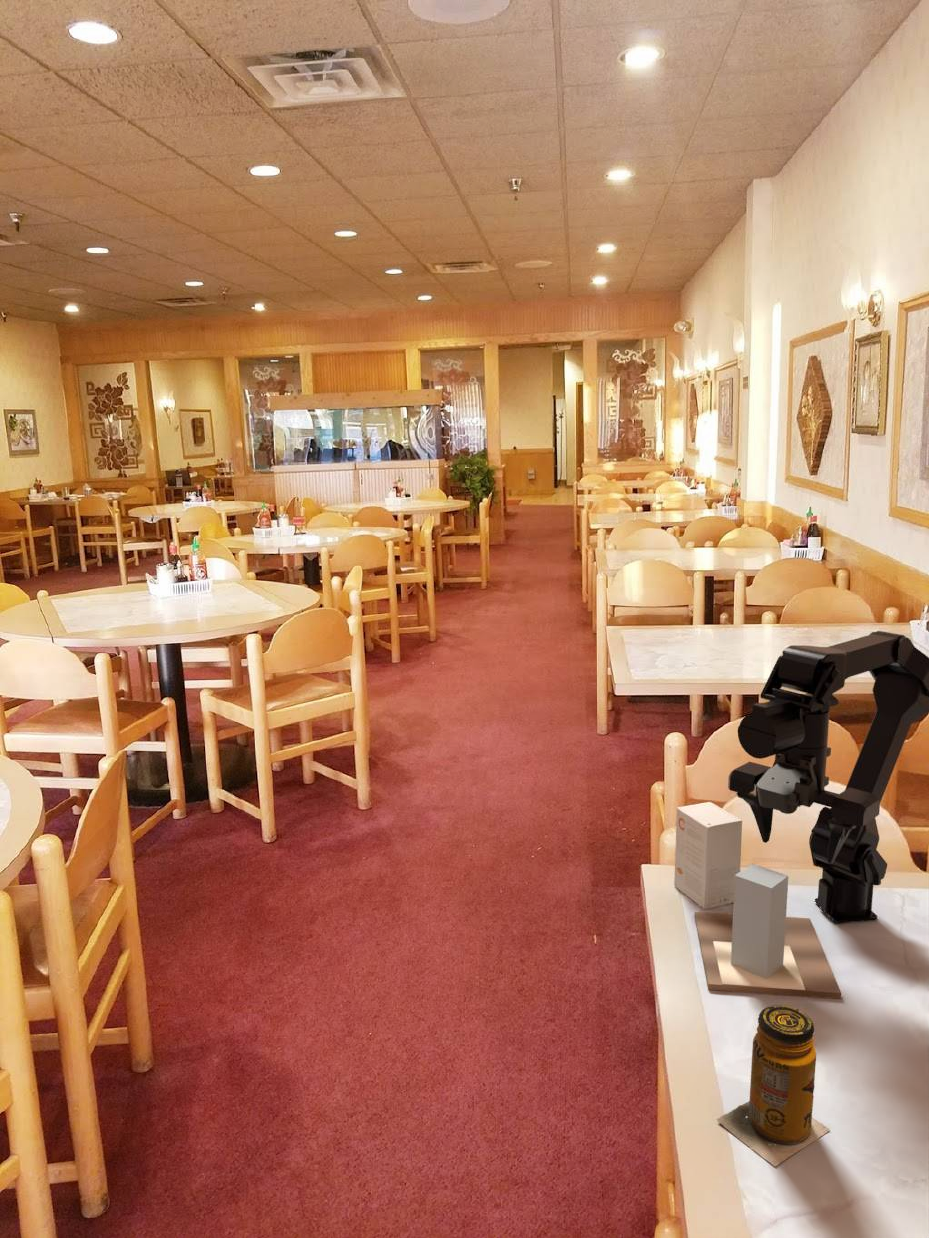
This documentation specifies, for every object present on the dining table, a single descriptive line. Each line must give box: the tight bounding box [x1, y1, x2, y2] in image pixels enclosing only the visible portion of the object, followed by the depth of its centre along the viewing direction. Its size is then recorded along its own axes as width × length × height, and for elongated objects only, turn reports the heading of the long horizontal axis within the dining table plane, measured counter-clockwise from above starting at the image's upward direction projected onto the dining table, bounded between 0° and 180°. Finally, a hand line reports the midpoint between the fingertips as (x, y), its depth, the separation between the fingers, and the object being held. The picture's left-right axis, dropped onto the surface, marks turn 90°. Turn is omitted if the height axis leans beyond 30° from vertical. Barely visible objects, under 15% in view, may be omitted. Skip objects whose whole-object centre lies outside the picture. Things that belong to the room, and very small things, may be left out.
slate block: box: [731, 863, 789, 979], centre depth 120 cm, size 4×5×12 cm
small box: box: [673, 801, 743, 910], centre depth 140 cm, size 8×6×13 cm
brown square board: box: [694, 911, 842, 1000], centre depth 125 cm, size 18×16×1 cm
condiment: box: [716, 1004, 831, 1167], centre depth 93 cm, size 7×8×12 cm
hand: (797, 851), depth 126 cm, fingers open, 9 cm apart
